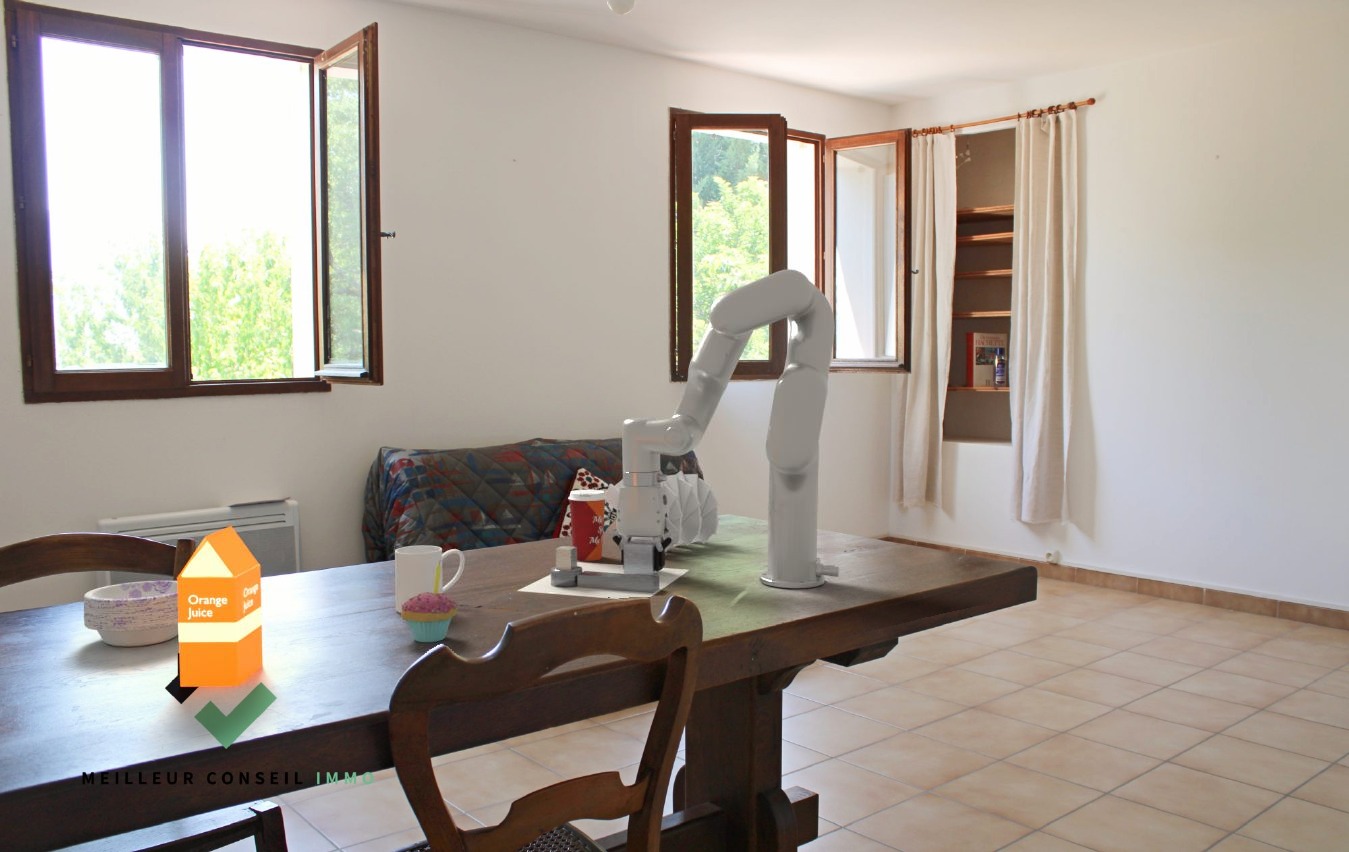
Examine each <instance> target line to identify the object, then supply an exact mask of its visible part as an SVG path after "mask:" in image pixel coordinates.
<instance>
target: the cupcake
mask: <svg viewBox="0 0 1349 852" xmlns="http://www.w3.org/2000/svg"><path fill="white" fill-rule="evenodd" d="M440 561H441V560H440ZM440 561H439V565H437V567H436V576H435V584H434V593H429V592H428V593H427V592H425V593H422V594H418V596H415V597H413V598H411V599H409V600H408V601H406V602H405V603H404V604H403V605H402V611H401V613H400V617H401V619H402V620H404V621H406V623H407V624H408V626H409V628H410V631H411V634H412V637H413V640H414V641H416V642H420V643H436V642H440V641H443V640H444V639H445V638H446V637H447V633H448V629H449V627H450V623H451V621H452V619H453V617H455V616H456V615H457V614H458V604H457V603H456V601H455V600H454V599H453V598H452V597H451V596H448V595H446V593H444V592H443V593H438V587H439V578H440V570H441V566H440Z"/></svg>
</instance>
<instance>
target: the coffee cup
mask: <svg viewBox="0 0 1349 852" xmlns="http://www.w3.org/2000/svg"><path fill="white" fill-rule="evenodd" d="M605 495H606V492H605V490H601V489H600V490H599V489H576V490H571V491H570V494H569V496H568V498H567V499H568V500H569V509H570V510H569V511H570V523H571V524H570V527H571V528H570V529H571V542H572V545H571V546H572V547H577V561H579V562H580V561H582V562H592V561H598V560H600V559H603V558H602V556H603V541H604V525H605V522H604V521H605V507H606V506H605V505H606V501H605V499H606V496H605Z"/></svg>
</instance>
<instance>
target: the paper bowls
mask: <svg viewBox="0 0 1349 852" xmlns="http://www.w3.org/2000/svg"><path fill="white" fill-rule="evenodd" d="M83 621H84V622H83V623H84V627H85V628H87V629H88V630H92V631H93V630H94V631H97V632H98V634H99V636H100V638H101V639H102V641H103V642H104V643H105V644H108V645H111V646H115V647H125V648H126V647H143V646H150V645H151V646H152V645H154V644H155V645H156V644H160V643H163V642H167V641H169V640H171V639H173V638H175V637H176V636H179V634H178V623H179V619H178V584H177V580H143V581H133V582H124V583H117V584H112V585H105V586H103V587H98V588H95V589H91V590H89V591H88V592H86V593H84V595H83Z"/></svg>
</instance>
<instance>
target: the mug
mask: <svg viewBox="0 0 1349 852" xmlns="http://www.w3.org/2000/svg"><path fill="white" fill-rule="evenodd" d="M452 554H458V556H459V567H458V570H457V572H456V574H455V575H454V577H453V578H451V580H450V581H449V582H447V584H445V585H444V586H443V560H444V559H446V557H447V556H450V555H452ZM464 555H465V554H464V553H463V552H462V551H461V550H459V549H456V548H454V549H449V550H446V551H445V552H443V548H442V547H440V546H436V545H425V544H424V545H409V546H403V547H399V548H397V549H395V550H394V572H395V573H394V574H395V575H394V578H395V579H394V581H395V582H394V583H395V585H394V586H395V587H394V588H395V611H396V612H397V613H398V614H401V611H402V605H403V604H404V603H405V602H406V601H408V600H409V599H411V598H413V597H415V596H418V594H422V593H425V592H427V593H428V592H429V593H434V584H435V576H436V567H437V565H439V561H440V560H441V561H440V566H441V570H440V578H439V587H438V593H443V594H444V592H447V591H448V590H449V589H450V588H452V587H453V586H454V584H456V582H457V581H458V580H459V579H460V577H461V575H462V574H463V571H464V569H465V563H466V562H465V560H466V559H465V556H464Z"/></svg>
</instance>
